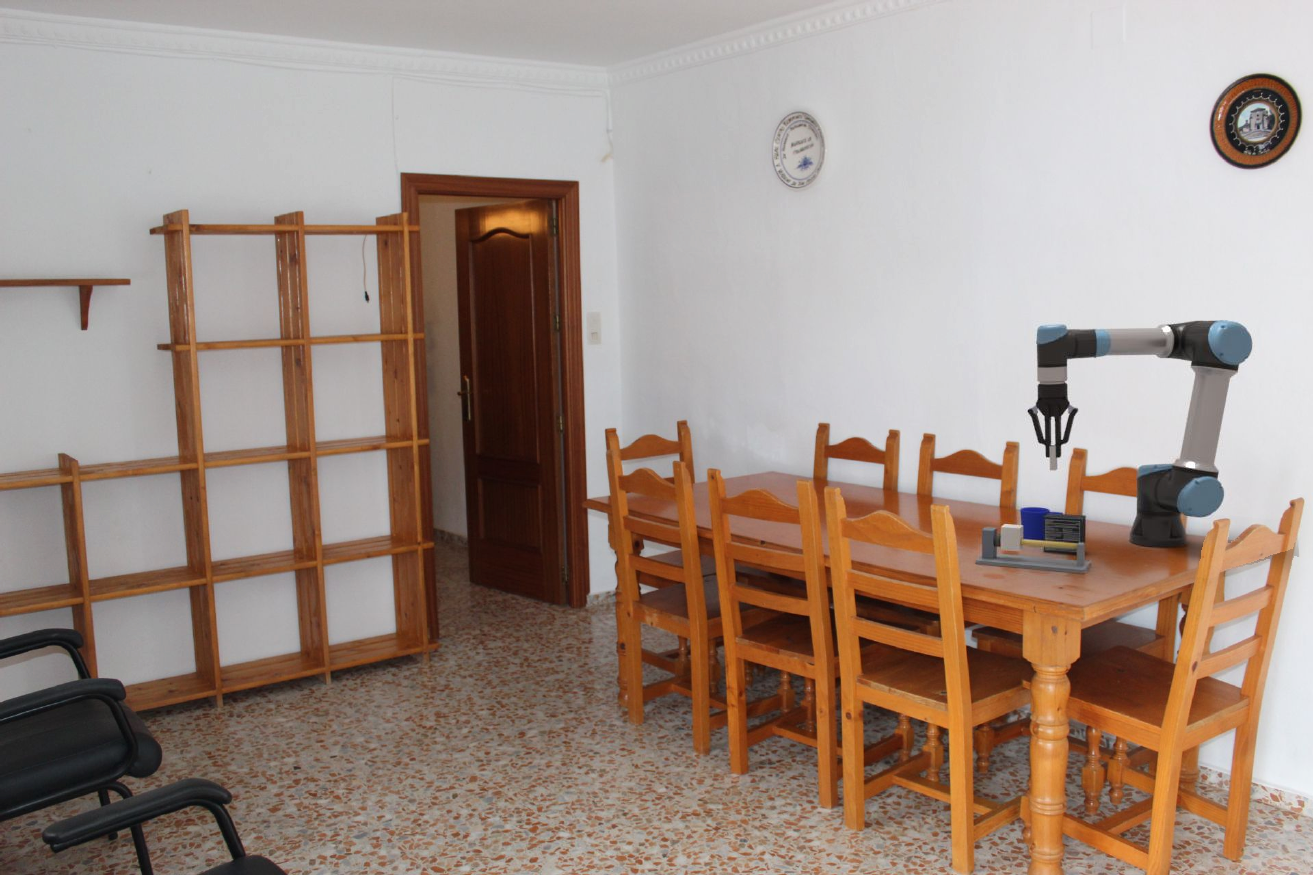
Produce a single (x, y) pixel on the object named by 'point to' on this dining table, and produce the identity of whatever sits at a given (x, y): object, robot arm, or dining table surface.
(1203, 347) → the robot arm
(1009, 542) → the sleeve
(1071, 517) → the small box
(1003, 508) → the dining table surface
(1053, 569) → the cord stand
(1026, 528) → the mug
